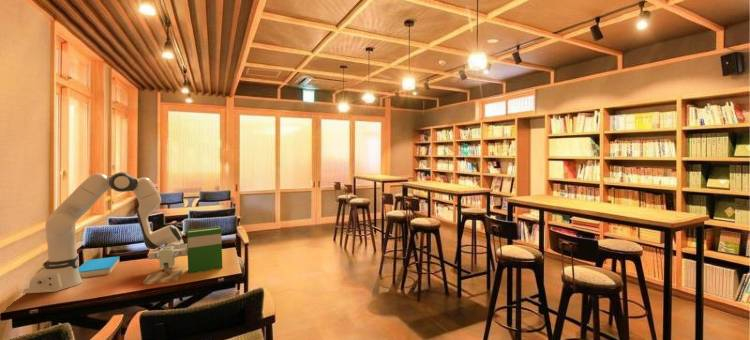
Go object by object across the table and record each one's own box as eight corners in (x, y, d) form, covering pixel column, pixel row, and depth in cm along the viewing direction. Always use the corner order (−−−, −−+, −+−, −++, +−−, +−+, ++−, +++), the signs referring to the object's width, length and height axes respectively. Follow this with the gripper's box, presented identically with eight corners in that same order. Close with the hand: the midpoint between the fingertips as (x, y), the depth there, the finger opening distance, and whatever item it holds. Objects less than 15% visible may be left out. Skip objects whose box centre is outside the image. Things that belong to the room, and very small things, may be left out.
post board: (142, 284, 178) (142, 269, 177) (150, 275, 191) (149, 261, 190) (177, 280, 183) (176, 265, 183) (182, 272, 196) (181, 257, 196)
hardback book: (189, 273, 194) (187, 232, 192) (188, 270, 200) (186, 230, 199) (222, 268, 203) (221, 228, 202) (220, 264, 209) (219, 226, 208)
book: (119, 256, 217) (110, 267, 195) (120, 262, 217) (111, 274, 195) (85, 260, 209) (72, 272, 187) (86, 267, 209) (72, 279, 187)
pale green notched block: (159, 268, 184) (158, 250, 183) (162, 265, 189) (161, 247, 189) (172, 267, 186) (171, 249, 185) (174, 264, 191) (173, 246, 191)
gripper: (151, 246, 196) (144, 253, 183) (190, 243, 203) (186, 249, 190) (151, 257, 196) (144, 265, 183) (191, 253, 203) (187, 260, 190)
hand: (166, 257), depth 186 cm, fingers closed on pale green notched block, 6 cm apart
